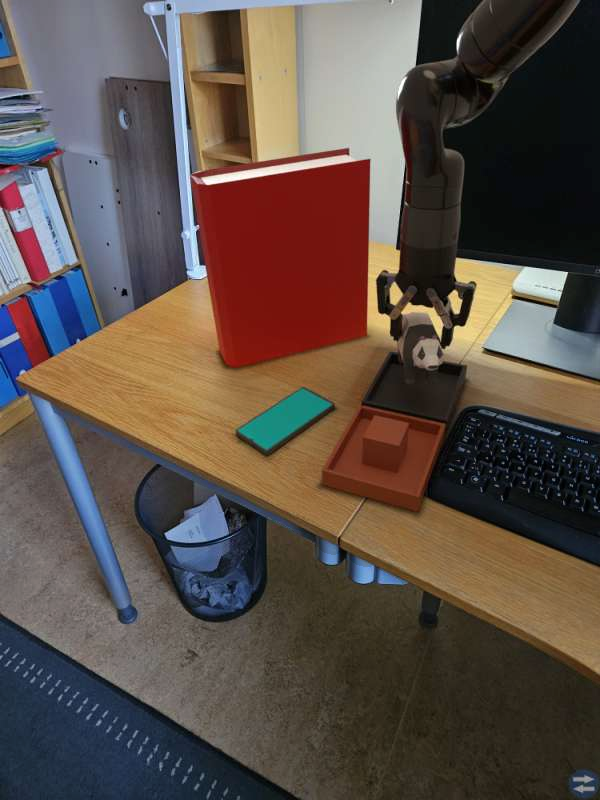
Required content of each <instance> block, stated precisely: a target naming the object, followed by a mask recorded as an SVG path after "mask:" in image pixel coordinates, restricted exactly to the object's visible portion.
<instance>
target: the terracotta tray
mask: <svg viewBox="0 0 600 800" xmlns="http://www.w3.org/2000/svg"><path fill="white" fill-rule="evenodd" d="M374 415H376V416H380V417H385V418H389V419H394V420H398V421H403V422H407V423H409V431H408V443H407V451H406V453H405V455H404V458H403V460H402V463H401V465H400V467H399V470H398V472H397V473H396V472H392V471H388V470H384V469H380V468H376V467H373V466H369V465H365V464H362V458H363V436H364V434H365V432H366V430H367V428H368V426H369V424H370V423H371V421H372V419H373V417H374ZM445 427H446V424H444V423H439V422H435V421H430V420H426V419H421V418H417V417H412V416H408V415H403V414H399V413H394V412H390V411H385V410H381V409H376V408H372V407H367V406H363V405H361V404H359V405H358V406H357V408H356V410H355V411H354V413H353V415H352V417H351V418H350V420H349V422H348V424H347V426H346V427H345V429H344V431H343V433H341V436H340V438H339V440H338V442H337V443H336V445H335V447H334V448H333V450H332V452H331V454H330V455H329V457H328V459H327V460H326V462H325V464H324V466H323V468H322V469H321V481H322V483H321V484H322V486H324V487H328V488H332V489H335V490H338V491H343V492H345V493H350V494H354V495H357V496H361V497H364V498H367V499H371V500H374V501H378V502H382V503H385V504H388V505H392V506H395V507H399V508H403V509H407V510H410V511H414V512H419V509H420V506H421V504H422V501H423V498H424V495H425V493H426V489H427V487H428V485H429V481H430V479H431V475H432V473H433V470H434V467H435V464H436V462H437V459H438V456H439V453H440V450H441V448H442V445H443V442H444V439H445V435H446V434H445ZM444 434H445V435H444Z"/></svg>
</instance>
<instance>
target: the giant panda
mask: <svg viewBox="0 0 600 800" xmlns="http://www.w3.org/2000/svg"><path fill="white" fill-rule="evenodd" d="M395 342H396V346H397V353H398V360H399V362H400V363H403V364H404V381H405V383H406V384H407V385H412V384H415V375H414V374H415V372H416V371H417V369H426V379H427V381H428V382H429V383H436V382H437V372H438V368H439V365H441V364H442V362H443V361H444V360H443V359H444V351H443V349H442V347H441V345H440V344H441V337H440V336H439V334H438V332H437V330H436V327H435V325H434V323H433V321H432V318H431V317H430V314H429V313H428V312H420V311H418V312H417V311H412V312H409V313H404V314H403V321H402V334H401V337H400V339H399V341H395Z"/></svg>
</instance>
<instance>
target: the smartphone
mask: <svg viewBox="0 0 600 800" xmlns="http://www.w3.org/2000/svg"><path fill="white" fill-rule="evenodd" d="M335 408H336V403H335V402H333V401H332V400H330V399H328V398H326V397H324V396H323V395H321V394H318V393H317V392H315V391H313V390H311V389H310V388H307V387H305V386H301V387H300V388H298V389H297V390H295V391H293V392H292V393H290V394H289V395H288V396H286V397H284V398H282V399H281V400H280V401H278V402H276V403H275V404H274V405H272V406H270V407H269V408H267V409H266V410H264V411H262V412H261V413H260V414H257V416H254V417H253V418H252V419H250V420H249V421H246V423H244V424H243V425H241V426H239V427H238V428H236V429H235V435H236V436H237V437H238V438H240V439H241V440H243V441H244V442H245V443H247V444H248V445H250V446H251V447H253V448H254V449H256V450H258V451H259V452H260V453H262V454H263V455H265V456H269V455H270V454H272V453H273V452H275V451H277V450H278V449H279V448H281V447H282V446H284V445H285V444H286V443H288V442H290V440H292V439H293V438H295V437H296V436H297V435H299V434H300V433H302V432H303V431H304V430H306V429H308V428H309V427H311V426H312V425H313V424H314V423H316V422H317V421H319V420H321V419H322V418H323V417H325V416H326V415H327V414H329V413H330V412H332V411H333V410H334V409H335Z"/></svg>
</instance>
